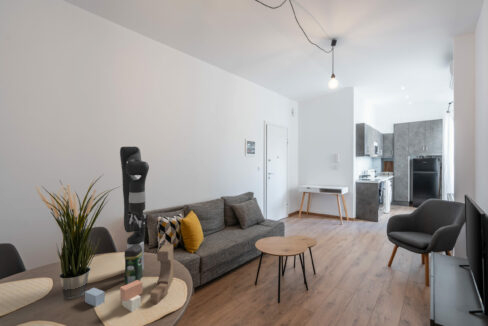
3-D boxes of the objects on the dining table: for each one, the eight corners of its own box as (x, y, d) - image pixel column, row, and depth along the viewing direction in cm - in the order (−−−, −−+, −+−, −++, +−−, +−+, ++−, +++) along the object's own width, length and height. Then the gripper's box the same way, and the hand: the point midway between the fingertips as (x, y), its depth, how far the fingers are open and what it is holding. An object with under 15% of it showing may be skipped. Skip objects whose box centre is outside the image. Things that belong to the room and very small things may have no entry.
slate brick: (85, 302, 107) (85, 291, 107) (93, 297, 110) (93, 287, 110) (96, 307, 103) (96, 296, 103) (104, 302, 107) (104, 291, 107)
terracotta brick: (137, 290, 108) (137, 279, 108) (142, 293, 106) (142, 282, 106) (120, 298, 102) (120, 287, 102) (124, 301, 99) (124, 290, 99)
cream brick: (122, 305, 105) (122, 294, 104) (130, 301, 108) (130, 290, 108) (131, 312, 100) (132, 300, 100) (140, 307, 103) (140, 296, 103)
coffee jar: (130, 276, 131) (130, 243, 131) (144, 275, 131) (144, 243, 131) (121, 285, 122) (121, 250, 121) (136, 285, 122) (136, 250, 122)
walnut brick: (157, 304, 106) (157, 293, 106) (150, 302, 107) (150, 292, 107) (167, 294, 114) (167, 284, 113) (160, 293, 115) (160, 283, 115)
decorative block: (167, 290, 117) (167, 251, 116) (156, 290, 116) (156, 251, 116) (173, 279, 128) (173, 243, 127) (163, 279, 127) (163, 243, 127)
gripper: (152, 201, 114) (152, 233, 114) (136, 198, 122) (136, 228, 122) (138, 203, 108) (137, 237, 108) (122, 200, 116) (122, 232, 116)
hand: (137, 232), depth 115 cm, fingers open, 8 cm apart
